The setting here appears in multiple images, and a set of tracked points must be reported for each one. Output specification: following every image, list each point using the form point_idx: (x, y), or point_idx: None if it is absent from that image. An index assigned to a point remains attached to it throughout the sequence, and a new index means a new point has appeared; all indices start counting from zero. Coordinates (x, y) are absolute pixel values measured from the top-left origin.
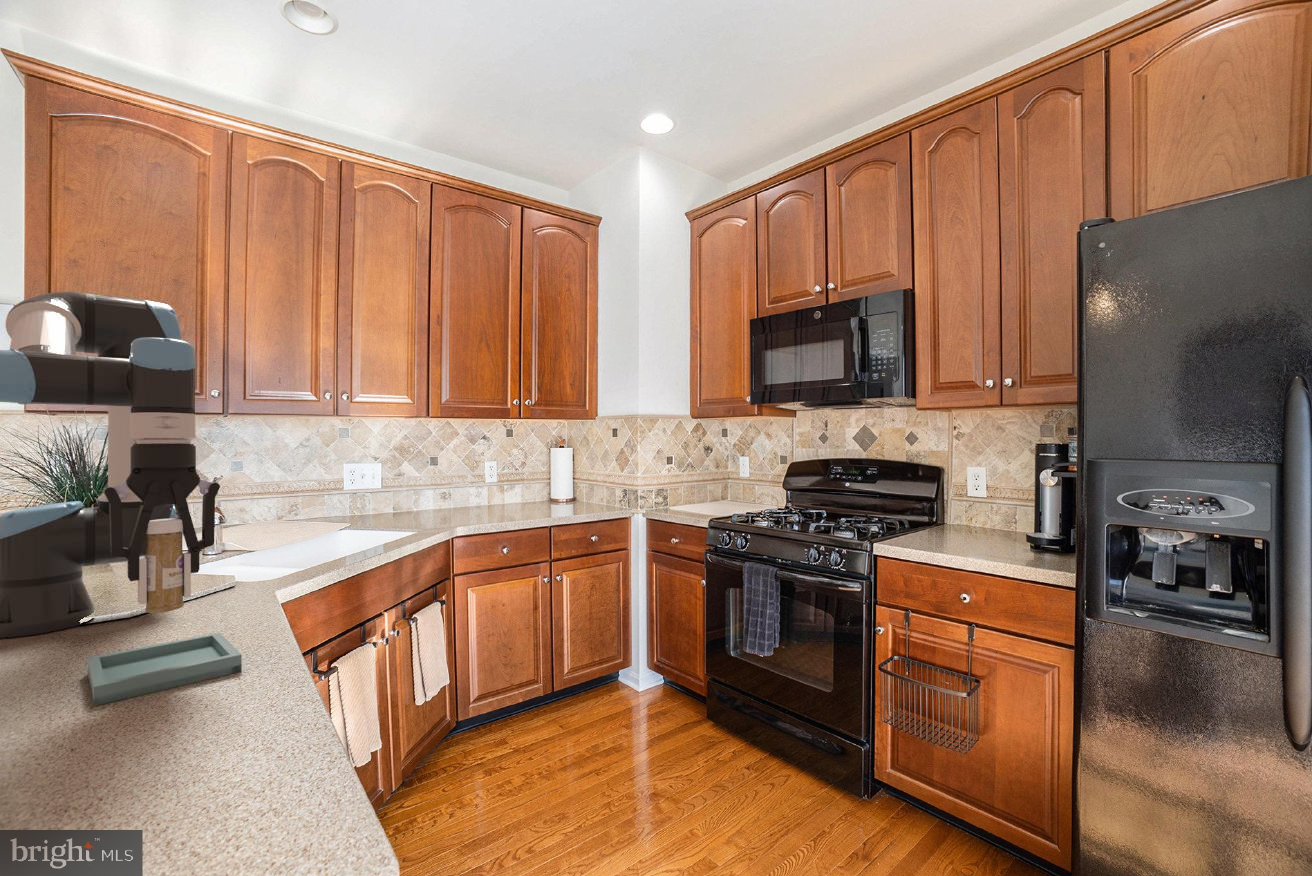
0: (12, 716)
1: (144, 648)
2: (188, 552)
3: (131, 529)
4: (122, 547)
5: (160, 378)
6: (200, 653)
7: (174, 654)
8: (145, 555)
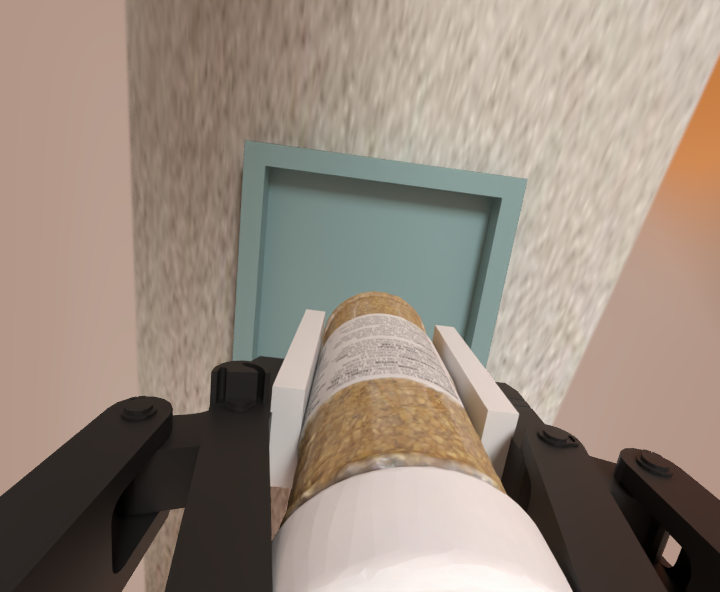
0: (137, 317)
1: (356, 173)
2: (504, 461)
3: None
4: (150, 538)
5: None
6: (448, 255)
7: (409, 208)
8: (297, 452)
